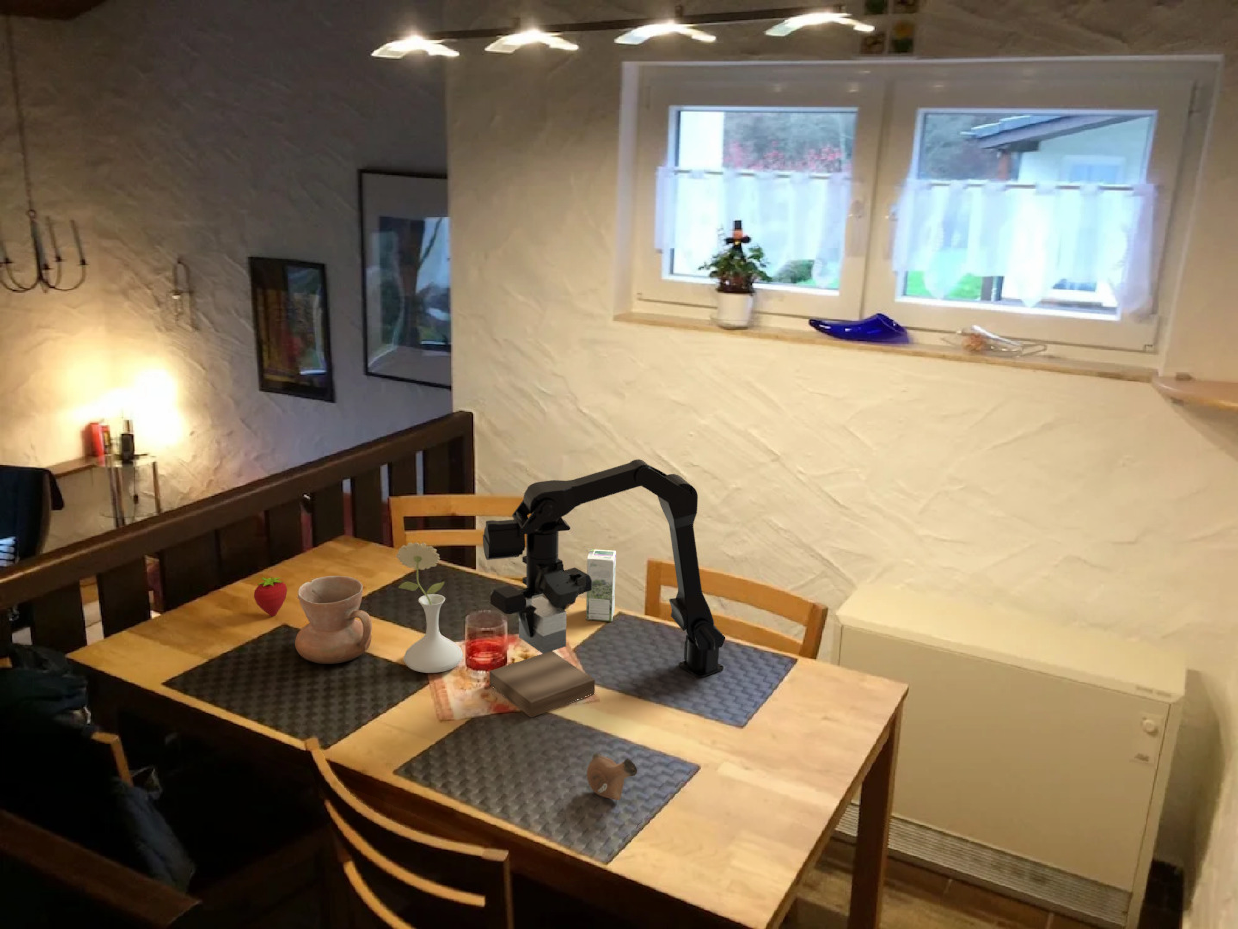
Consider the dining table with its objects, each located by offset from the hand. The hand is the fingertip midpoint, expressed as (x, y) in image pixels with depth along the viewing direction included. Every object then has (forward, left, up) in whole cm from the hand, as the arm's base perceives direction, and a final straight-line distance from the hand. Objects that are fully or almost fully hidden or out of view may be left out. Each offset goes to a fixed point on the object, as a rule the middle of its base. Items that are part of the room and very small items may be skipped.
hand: (542, 633), depth 188 cm
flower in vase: (+21, +12, -12) cm, 27 cm away
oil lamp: (-34, +10, -12) cm, 37 cm away
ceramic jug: (+35, +25, -12) cm, 45 cm away
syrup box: (+19, -28, -12) cm, 36 cm away
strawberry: (+59, +29, -12) cm, 67 cm away
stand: (0, 0, -12) cm, 12 cm away
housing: (0, 0, -2) cm, 2 cm away
